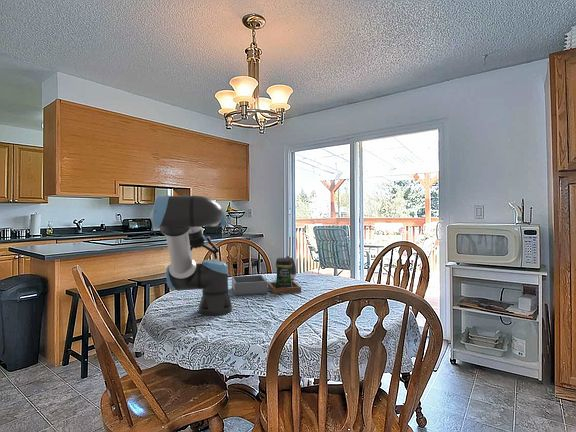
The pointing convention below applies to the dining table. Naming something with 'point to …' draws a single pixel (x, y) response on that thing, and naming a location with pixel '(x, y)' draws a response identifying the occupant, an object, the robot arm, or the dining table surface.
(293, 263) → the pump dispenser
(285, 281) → the coffee jar
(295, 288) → the holder frame
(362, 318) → the dining table surface
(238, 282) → the box
